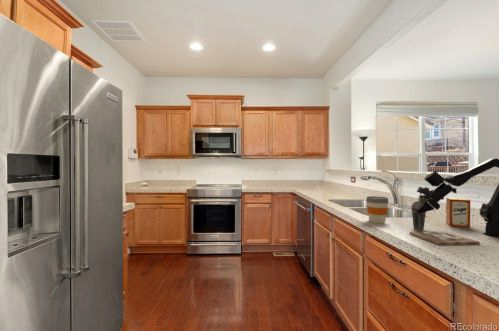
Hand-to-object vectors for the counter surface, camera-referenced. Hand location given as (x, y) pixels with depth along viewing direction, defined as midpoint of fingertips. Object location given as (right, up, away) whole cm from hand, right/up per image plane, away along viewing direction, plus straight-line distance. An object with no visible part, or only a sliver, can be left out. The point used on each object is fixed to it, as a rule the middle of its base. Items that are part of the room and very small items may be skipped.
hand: (415, 211), depth 142 cm
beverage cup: (+1, -10, 0) cm, 10 cm away
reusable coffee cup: (-12, -10, +18) cm, 24 cm away
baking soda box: (+31, -10, +9) cm, 33 cm away
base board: (+1, -10, -19) cm, 21 cm away
